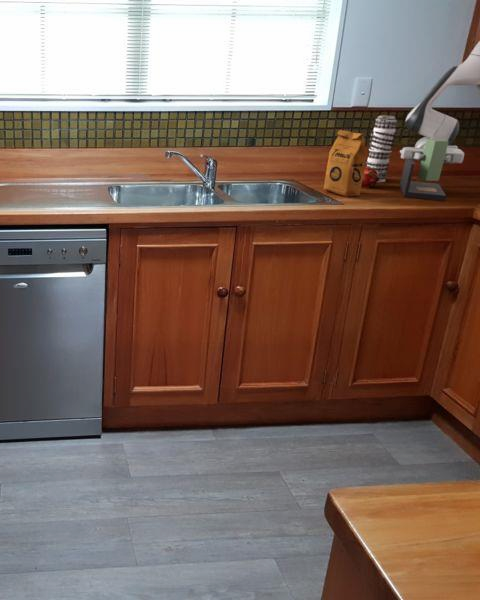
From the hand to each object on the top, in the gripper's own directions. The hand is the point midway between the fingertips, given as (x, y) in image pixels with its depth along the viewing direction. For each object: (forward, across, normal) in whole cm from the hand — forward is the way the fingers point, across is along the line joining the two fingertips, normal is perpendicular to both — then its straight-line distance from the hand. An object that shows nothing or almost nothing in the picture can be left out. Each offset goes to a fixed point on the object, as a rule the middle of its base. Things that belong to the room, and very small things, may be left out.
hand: (433, 158), depth 217 cm
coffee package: (+11, -28, +14) cm, 33 cm away
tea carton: (-1, 0, +8) cm, 8 cm away
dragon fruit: (-7, -20, +14) cm, 25 cm away
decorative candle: (-22, -16, +14) cm, 31 cm away
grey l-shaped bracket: (-4, -1, +13) cm, 14 cm away
